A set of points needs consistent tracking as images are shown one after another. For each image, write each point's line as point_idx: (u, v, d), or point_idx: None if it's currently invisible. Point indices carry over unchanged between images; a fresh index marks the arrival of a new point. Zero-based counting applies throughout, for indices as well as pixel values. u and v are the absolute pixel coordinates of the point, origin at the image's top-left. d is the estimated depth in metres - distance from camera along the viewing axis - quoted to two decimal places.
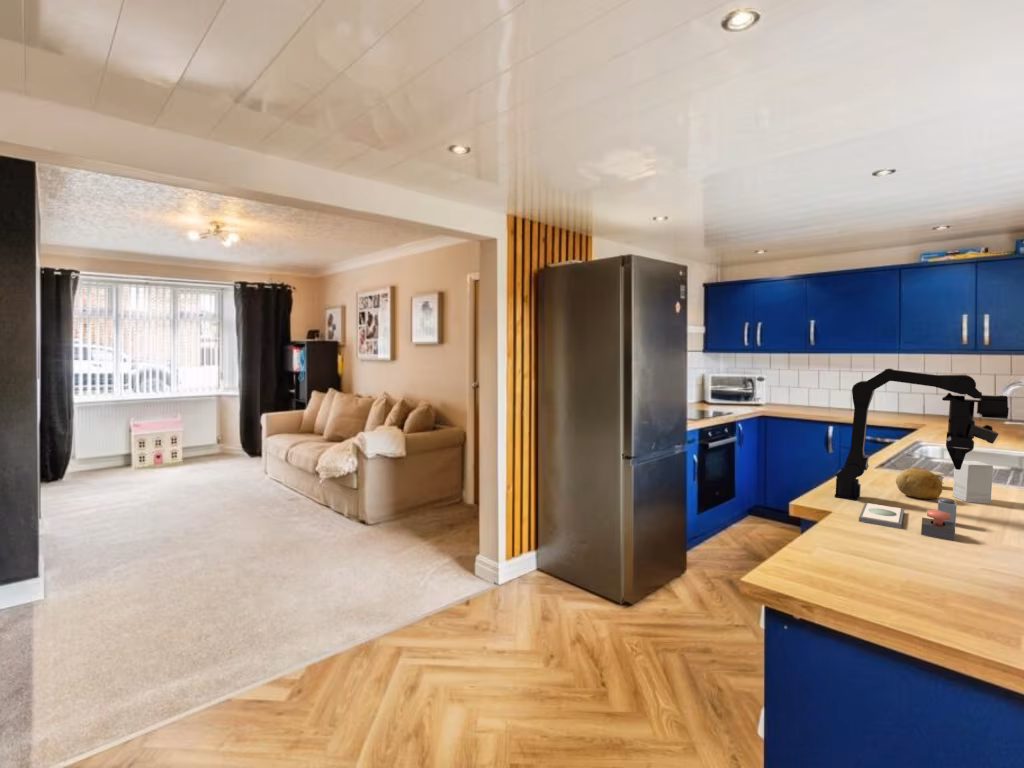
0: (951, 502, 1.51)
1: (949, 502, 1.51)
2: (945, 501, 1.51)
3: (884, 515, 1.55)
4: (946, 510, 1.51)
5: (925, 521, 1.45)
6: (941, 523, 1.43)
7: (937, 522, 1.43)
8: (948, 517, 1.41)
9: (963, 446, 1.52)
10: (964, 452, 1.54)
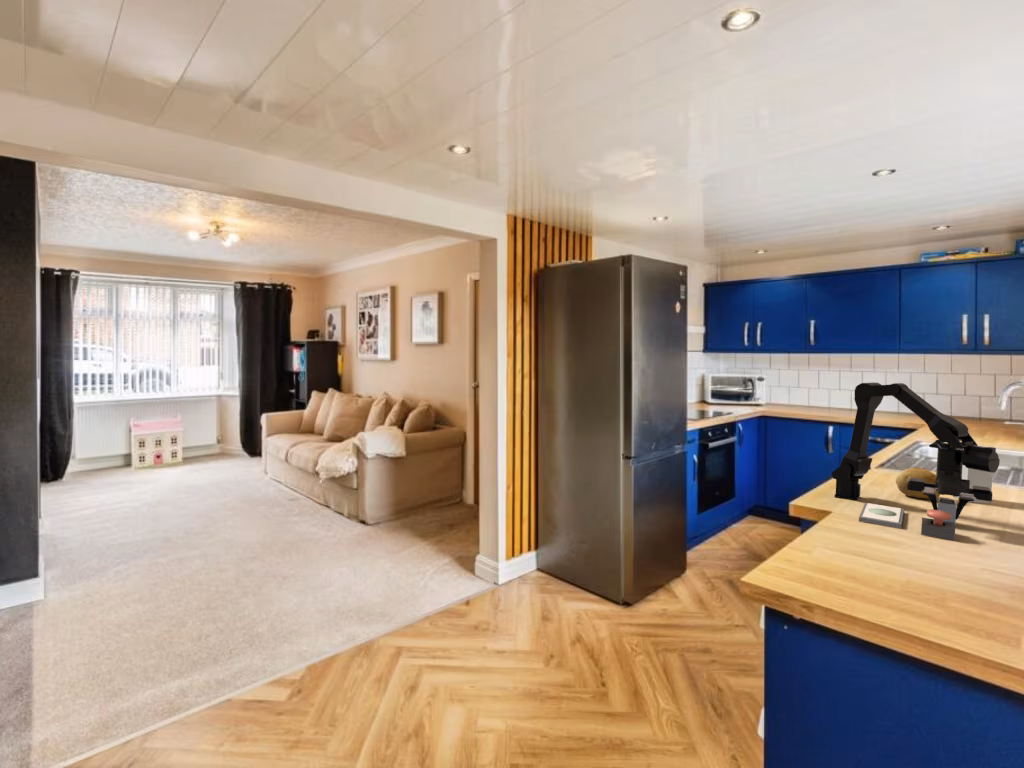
0: (951, 502, 1.51)
1: (949, 502, 1.51)
2: (945, 501, 1.51)
3: (884, 515, 1.55)
4: (946, 510, 1.51)
5: (925, 521, 1.45)
6: (941, 523, 1.43)
7: (937, 522, 1.43)
8: (948, 517, 1.41)
9: None
10: None
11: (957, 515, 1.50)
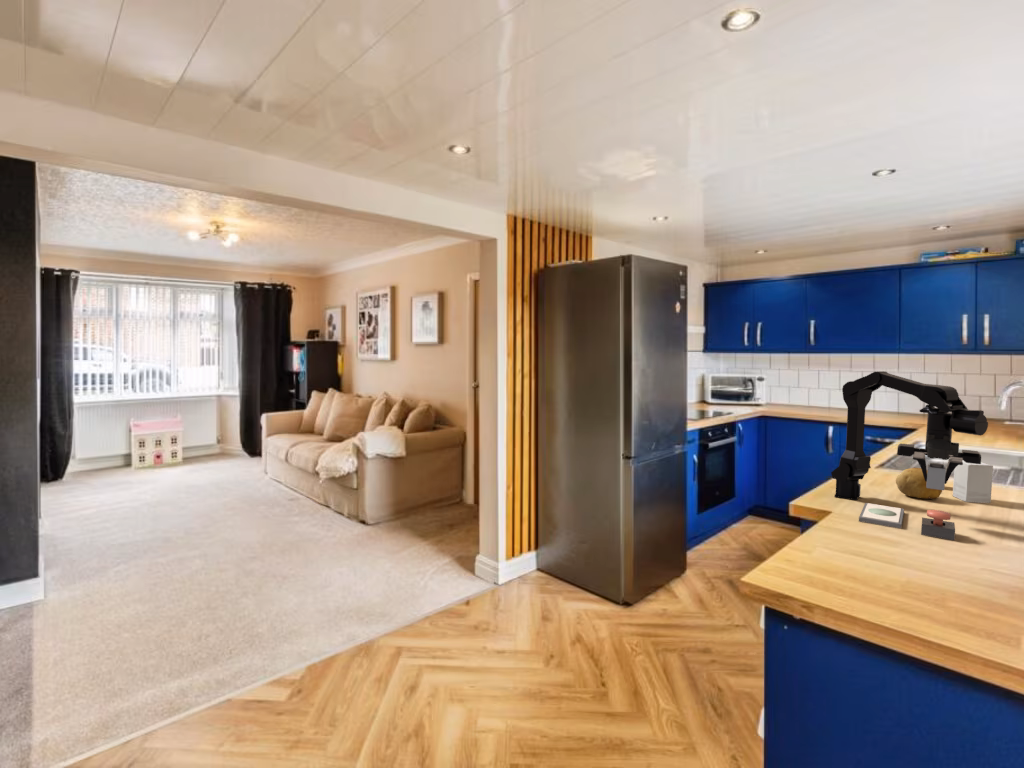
0: (940, 466, 1.51)
1: (938, 466, 1.51)
2: (934, 465, 1.52)
3: (884, 515, 1.55)
4: (935, 474, 1.51)
5: (925, 521, 1.45)
6: (941, 523, 1.43)
7: (937, 522, 1.43)
8: (948, 517, 1.41)
9: None
10: None
11: (946, 479, 1.51)
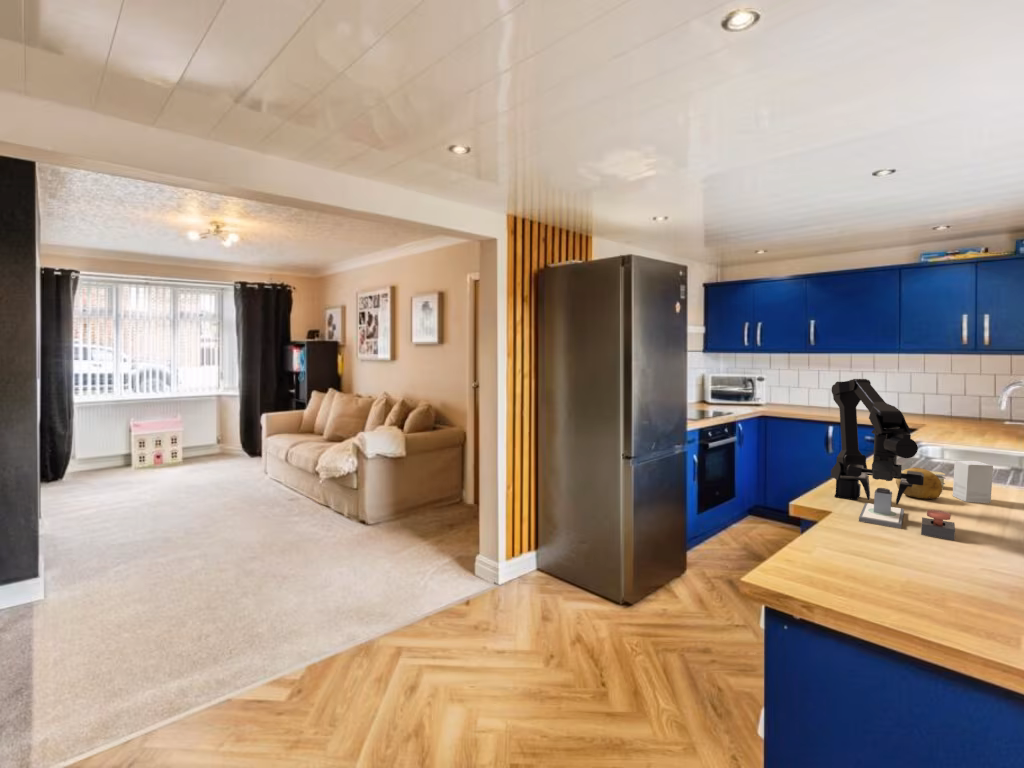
0: (886, 492, 1.56)
1: (884, 492, 1.56)
2: (881, 491, 1.57)
3: (884, 515, 1.55)
4: (882, 499, 1.56)
5: (925, 521, 1.45)
6: (941, 523, 1.43)
7: (937, 522, 1.43)
8: (948, 517, 1.41)
9: None
10: None
11: (897, 500, 1.55)
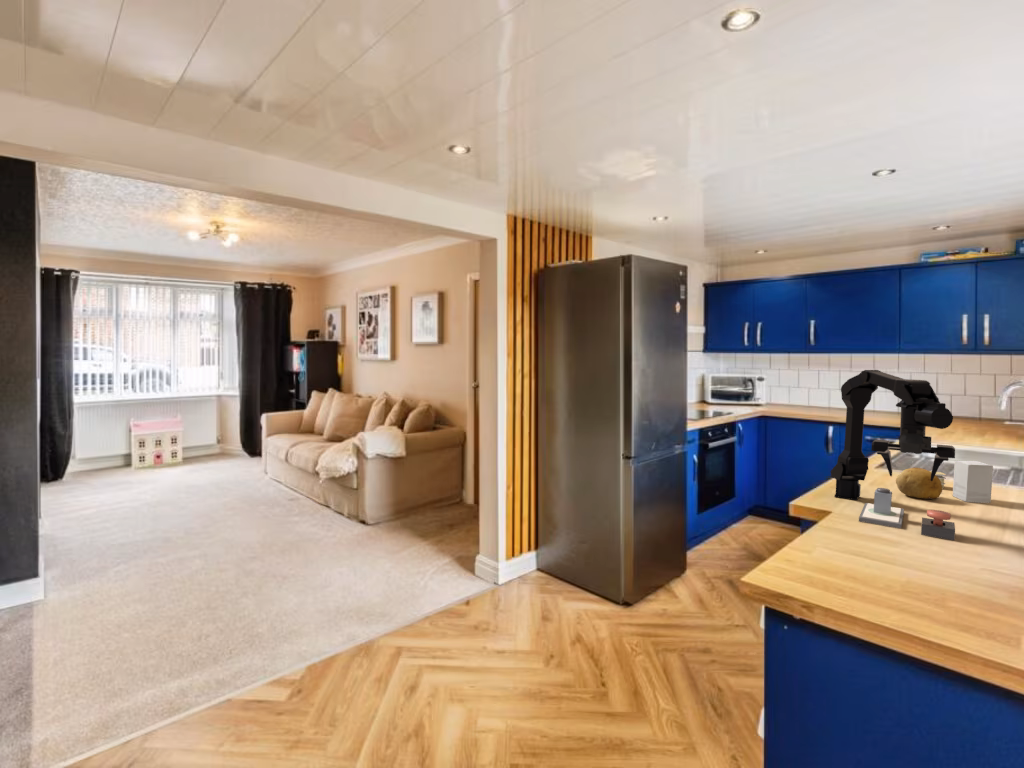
0: (886, 491, 1.56)
1: (884, 491, 1.56)
2: (881, 491, 1.57)
3: (884, 515, 1.55)
4: (882, 499, 1.56)
5: (925, 521, 1.45)
6: (941, 523, 1.43)
7: (937, 522, 1.43)
8: (948, 517, 1.41)
9: None
10: None
11: (932, 476, 1.46)
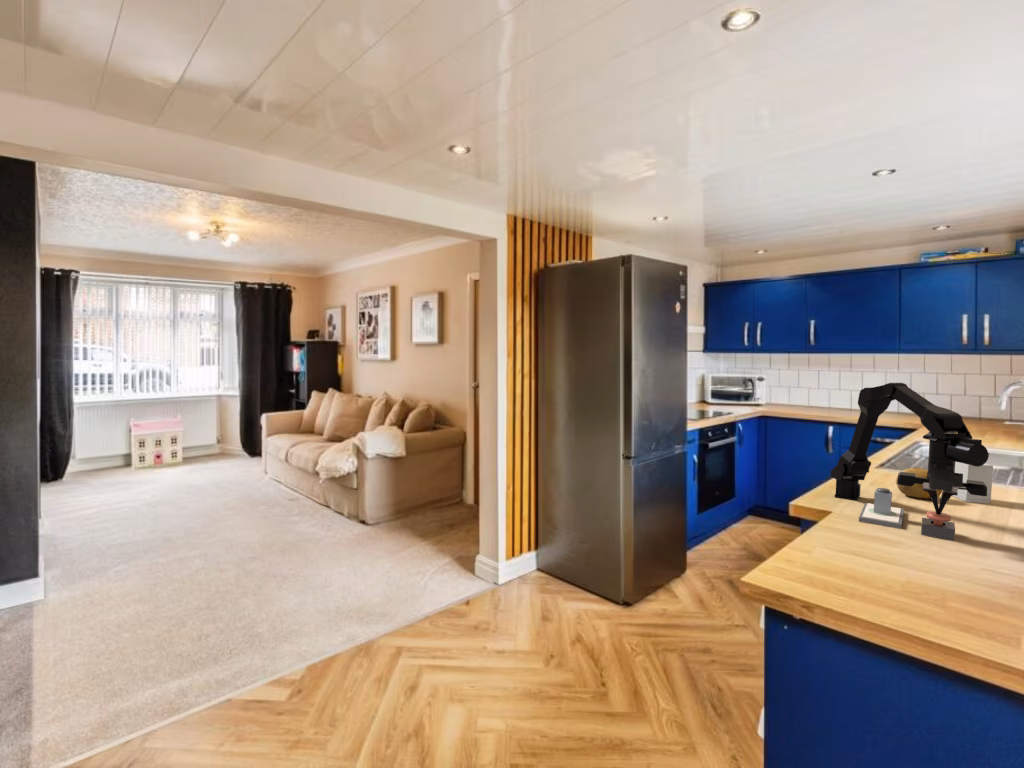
0: (886, 491, 1.56)
1: (884, 491, 1.56)
2: (881, 491, 1.57)
3: (884, 515, 1.55)
4: (882, 499, 1.56)
5: (925, 521, 1.45)
6: (941, 524, 1.43)
7: (937, 524, 1.43)
8: (948, 519, 1.41)
9: None
10: None
11: (940, 510, 1.42)
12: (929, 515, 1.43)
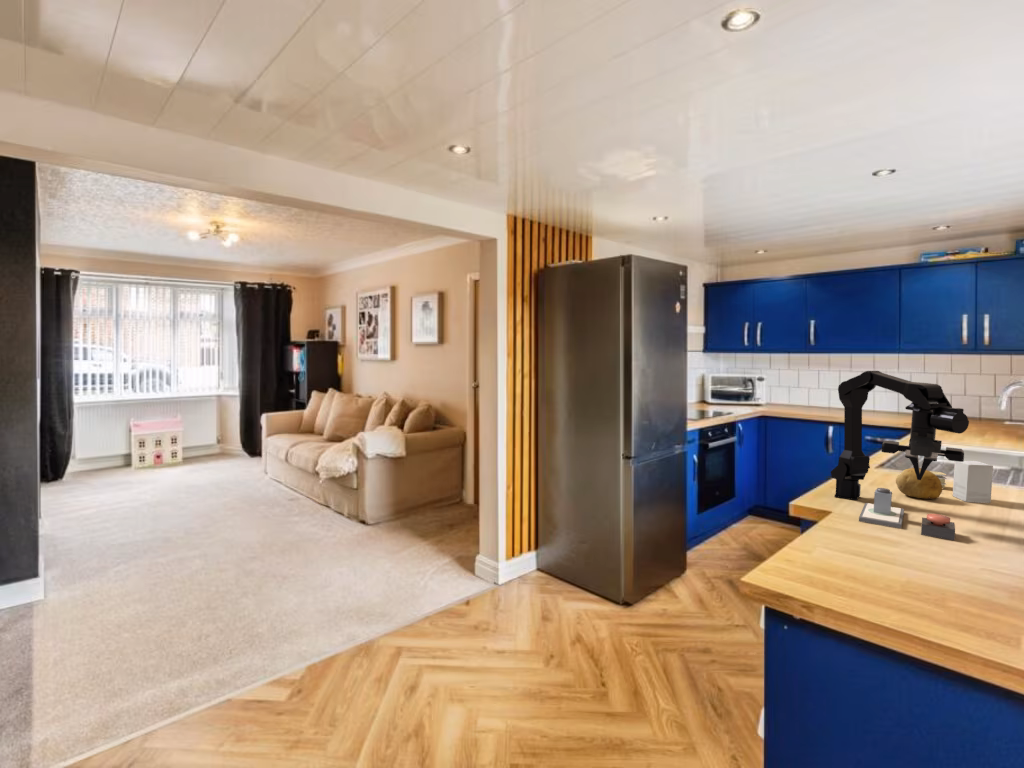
0: (886, 491, 1.56)
1: (884, 491, 1.56)
2: (881, 491, 1.57)
3: (884, 515, 1.55)
4: (882, 499, 1.56)
5: (925, 521, 1.45)
6: None
7: None
8: (948, 521, 1.41)
9: None
10: None
11: (921, 475, 1.52)
12: (929, 517, 1.43)
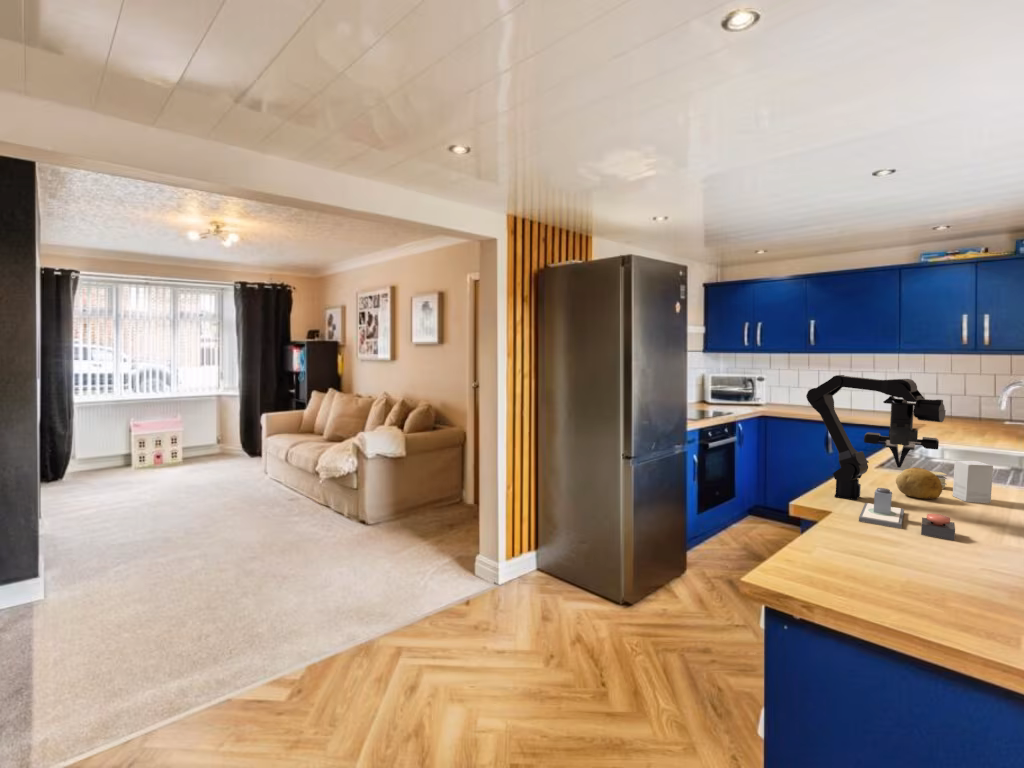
0: (886, 491, 1.56)
1: (884, 491, 1.56)
2: (881, 491, 1.57)
3: (884, 515, 1.55)
4: (882, 499, 1.56)
5: (925, 521, 1.45)
6: None
7: None
8: (948, 521, 1.41)
9: None
10: None
11: (900, 463, 1.65)
12: (929, 517, 1.43)
